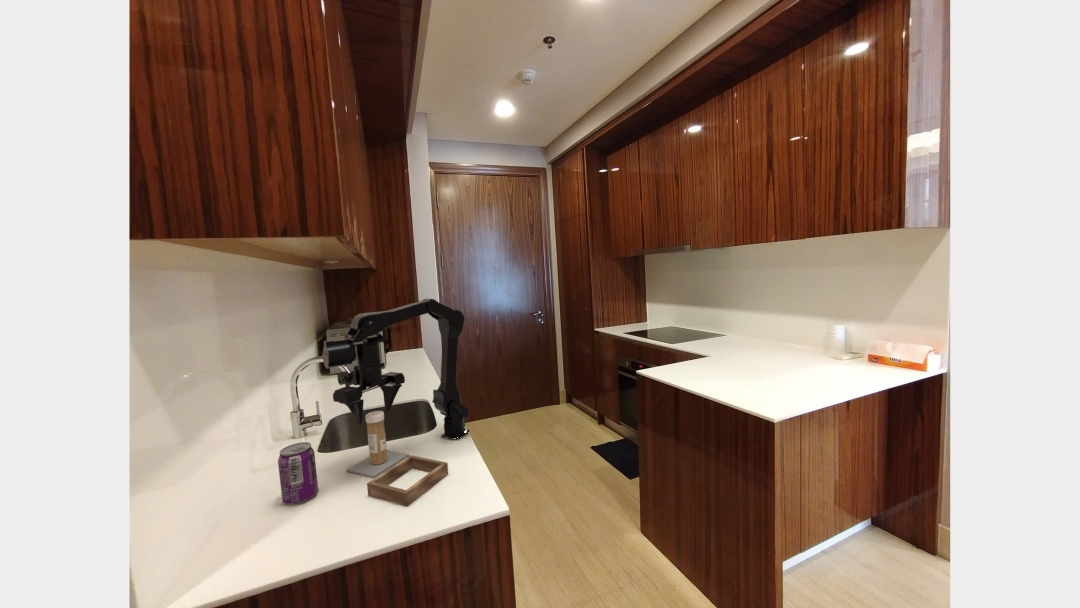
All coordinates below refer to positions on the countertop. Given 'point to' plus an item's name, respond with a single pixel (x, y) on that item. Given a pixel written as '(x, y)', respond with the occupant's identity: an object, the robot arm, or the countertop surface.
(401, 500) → the wooden frame
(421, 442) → the countertop surface
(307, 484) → the beverage can
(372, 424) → the sprinkles bottle
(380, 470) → the mat
